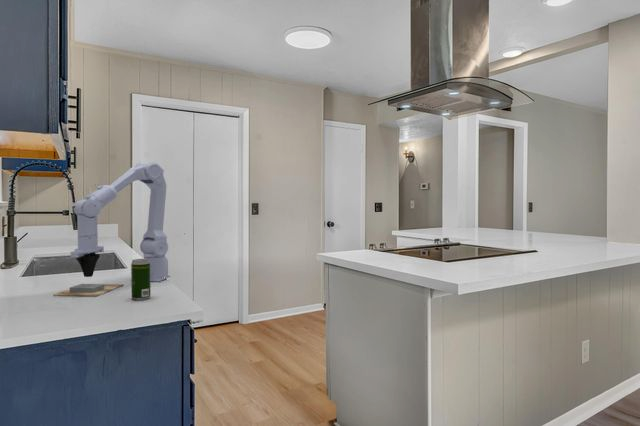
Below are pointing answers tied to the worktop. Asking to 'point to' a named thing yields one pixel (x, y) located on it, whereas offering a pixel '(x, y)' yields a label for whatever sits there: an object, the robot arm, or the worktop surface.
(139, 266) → the guarana soda can
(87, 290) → the tile
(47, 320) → the worktop surface
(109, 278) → the worktop surface
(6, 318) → the worktop surface
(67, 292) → the mat
